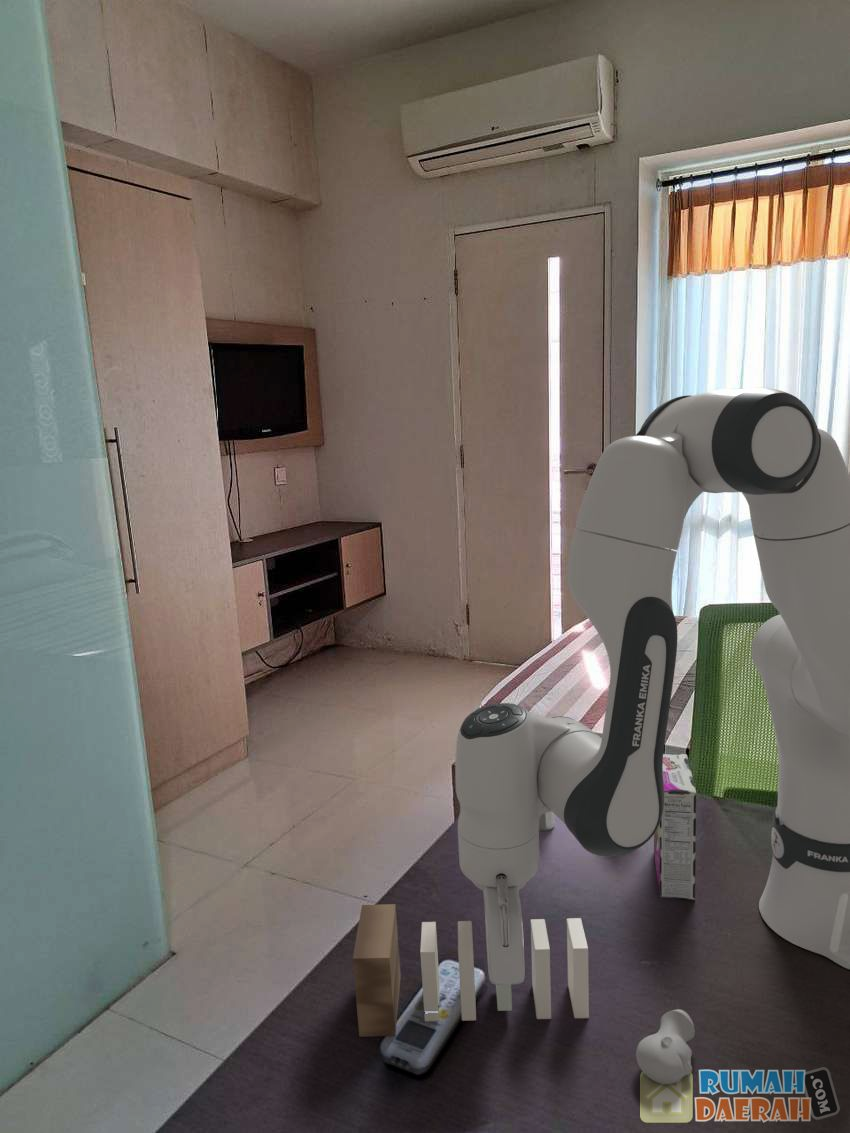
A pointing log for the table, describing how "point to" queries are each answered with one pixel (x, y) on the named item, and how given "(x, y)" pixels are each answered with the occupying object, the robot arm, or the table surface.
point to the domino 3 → (504, 997)
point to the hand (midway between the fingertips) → (502, 958)
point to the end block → (377, 970)
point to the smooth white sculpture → (667, 1049)
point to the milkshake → (546, 821)
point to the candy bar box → (677, 831)
